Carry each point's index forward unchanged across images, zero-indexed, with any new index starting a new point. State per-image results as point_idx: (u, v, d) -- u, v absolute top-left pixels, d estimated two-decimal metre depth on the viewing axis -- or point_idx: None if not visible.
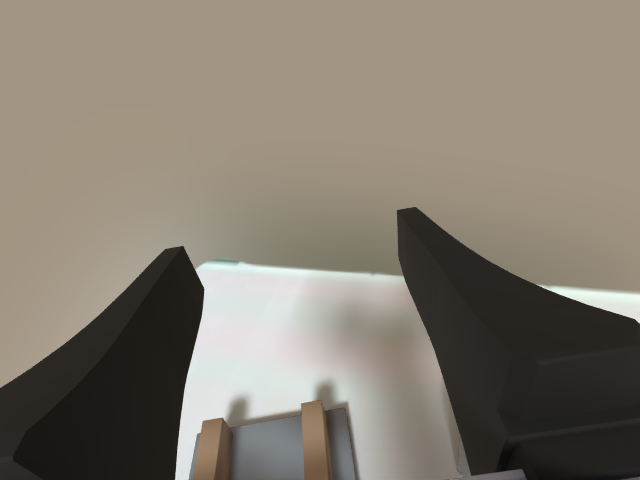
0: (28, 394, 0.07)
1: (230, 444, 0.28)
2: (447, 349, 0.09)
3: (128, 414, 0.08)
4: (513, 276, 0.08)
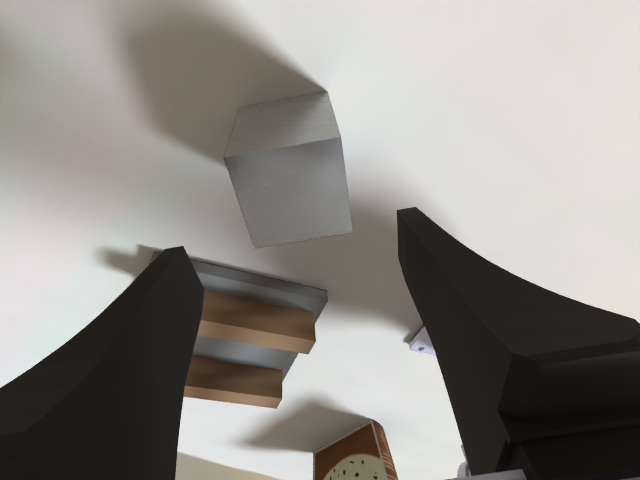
0: (29, 393, 0.07)
1: None
2: (447, 349, 0.09)
3: (128, 414, 0.08)
4: (513, 276, 0.08)
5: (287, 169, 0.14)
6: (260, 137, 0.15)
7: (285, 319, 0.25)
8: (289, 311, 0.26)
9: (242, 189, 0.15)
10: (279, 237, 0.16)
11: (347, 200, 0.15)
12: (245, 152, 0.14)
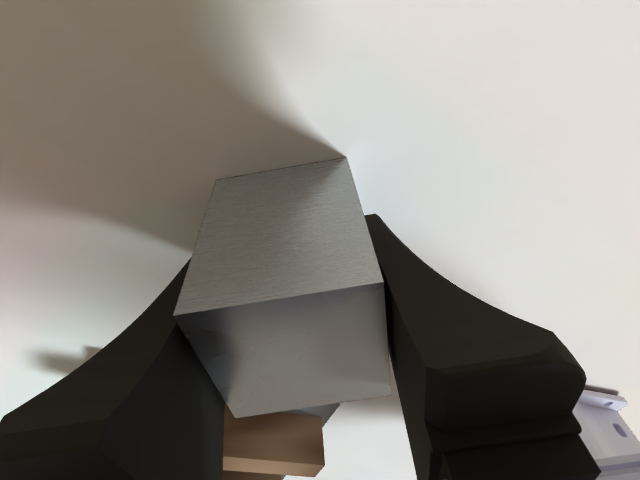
0: (95, 384, 0.07)
1: None
2: (395, 357, 0.09)
3: (184, 406, 0.08)
4: (452, 286, 0.08)
5: (286, 327, 0.08)
6: (241, 262, 0.09)
7: (284, 433, 0.19)
8: (290, 419, 0.20)
9: (210, 353, 0.09)
10: (274, 405, 0.10)
11: (386, 360, 0.09)
12: (212, 306, 0.08)
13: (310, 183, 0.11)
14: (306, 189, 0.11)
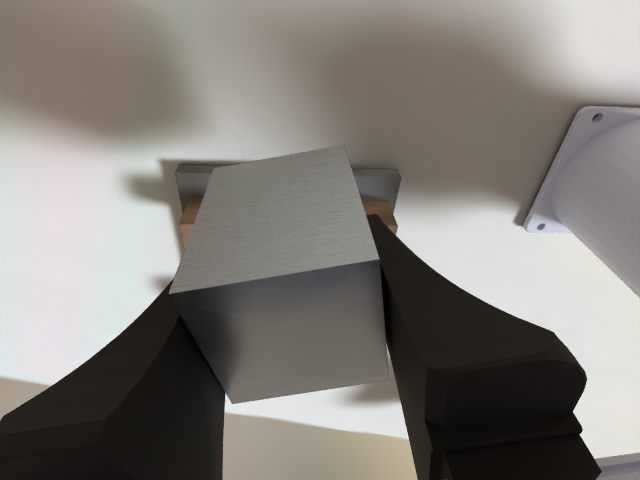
0: (95, 384, 0.07)
1: None
2: (396, 357, 0.09)
3: (184, 406, 0.08)
4: (452, 286, 0.08)
5: (282, 307, 0.08)
6: (237, 243, 0.09)
7: None
8: None
9: (206, 334, 0.09)
10: (271, 390, 0.10)
11: (383, 342, 0.09)
12: (208, 284, 0.08)
13: (307, 169, 0.11)
14: (303, 175, 0.11)
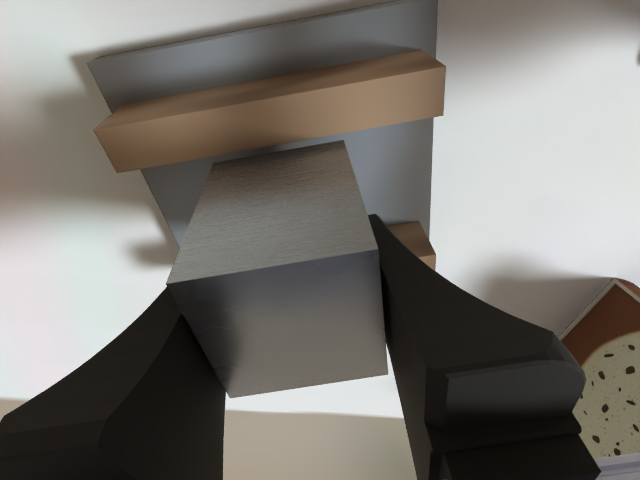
0: (95, 384, 0.07)
1: None
2: (396, 357, 0.09)
3: (184, 406, 0.08)
4: (452, 286, 0.08)
5: (280, 298, 0.08)
6: (236, 234, 0.09)
7: (366, 68, 0.12)
8: (371, 61, 0.13)
9: (204, 325, 0.09)
10: (269, 384, 0.10)
11: (382, 335, 0.09)
12: (206, 274, 0.08)
13: (307, 163, 0.11)
14: (302, 168, 0.11)
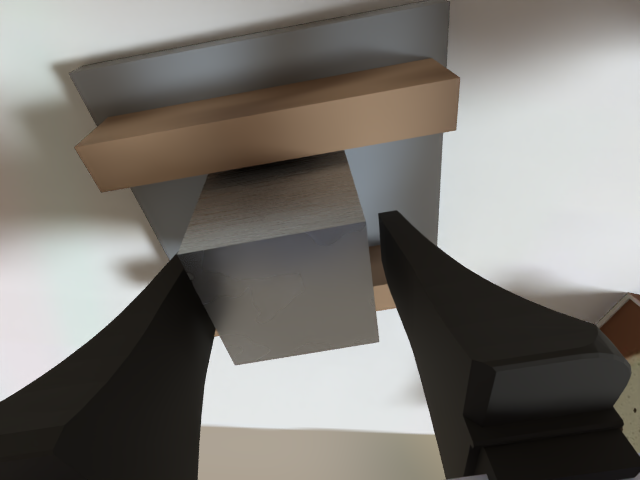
0: (60, 389, 0.07)
1: None
2: (423, 353, 0.09)
3: (155, 410, 0.08)
4: (484, 281, 0.08)
5: (279, 268, 0.09)
6: (238, 212, 0.10)
7: (372, 79, 0.11)
8: (377, 70, 0.12)
9: (211, 294, 0.10)
10: (271, 351, 0.11)
11: (372, 304, 0.10)
12: (212, 246, 0.09)
13: None
14: None
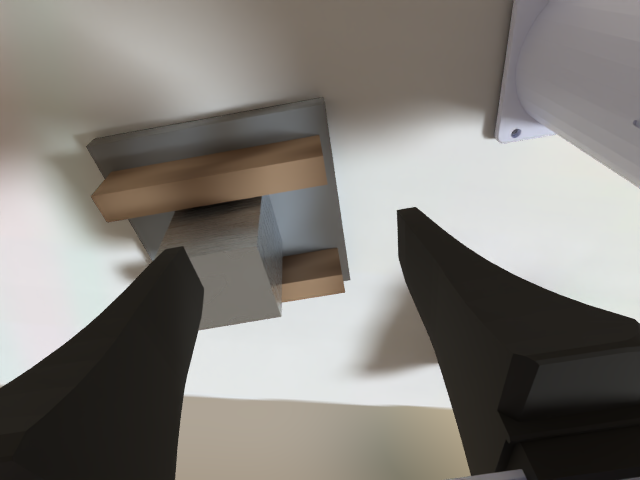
0: (28, 394, 0.07)
1: None
2: (447, 349, 0.09)
3: (128, 414, 0.08)
4: (513, 276, 0.08)
5: (211, 271, 0.16)
6: (189, 238, 0.17)
7: (276, 151, 0.18)
8: (283, 143, 0.19)
9: None
10: (213, 322, 0.18)
11: (271, 292, 0.17)
12: None
13: None
14: None
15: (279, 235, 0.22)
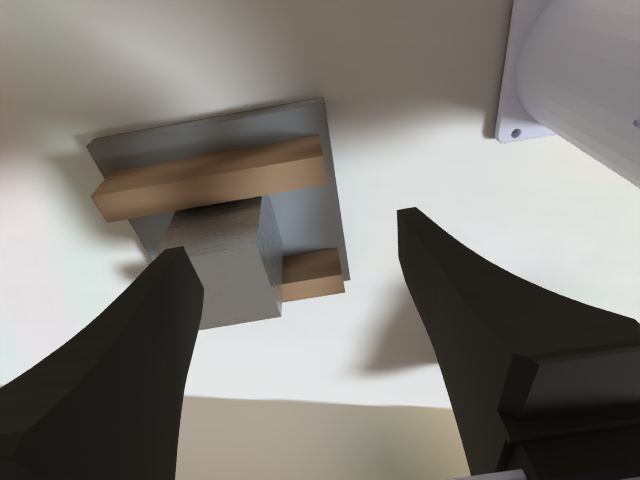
0: (28, 394, 0.07)
1: None
2: (447, 349, 0.09)
3: (128, 414, 0.08)
4: (513, 276, 0.08)
5: (211, 271, 0.16)
6: (189, 238, 0.17)
7: (276, 151, 0.18)
8: (283, 143, 0.19)
9: None
10: (213, 322, 0.18)
11: (271, 292, 0.17)
12: None
13: None
14: None
15: (279, 235, 0.22)
